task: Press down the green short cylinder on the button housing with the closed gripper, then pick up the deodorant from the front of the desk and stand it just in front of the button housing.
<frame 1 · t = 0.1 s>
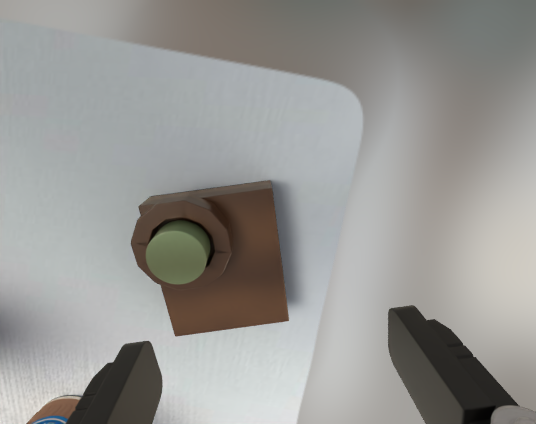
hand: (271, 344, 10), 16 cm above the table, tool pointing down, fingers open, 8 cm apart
button housing: (222, 253, 27), on the table
coffee cup: (76, 417, 32), on the table
green short cylinder: (179, 251, 21), point 5 cm above the table, slide at 0.1 cm
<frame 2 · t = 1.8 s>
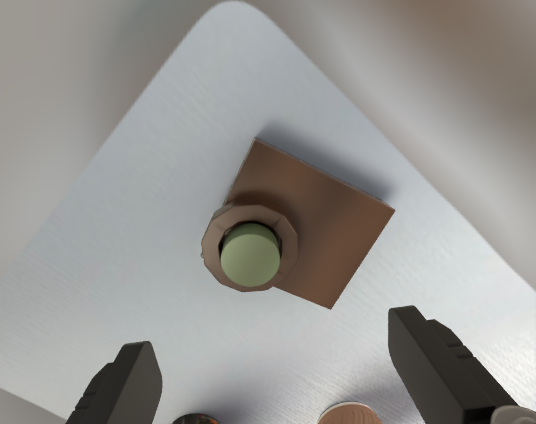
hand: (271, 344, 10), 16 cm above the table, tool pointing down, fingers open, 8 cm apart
button housing: (292, 221, 26), on the table
coffee cup: (346, 421, 34), on the table
green short cylinder: (250, 254, 21), point 5 cm above the table, slide at 0.1 cm
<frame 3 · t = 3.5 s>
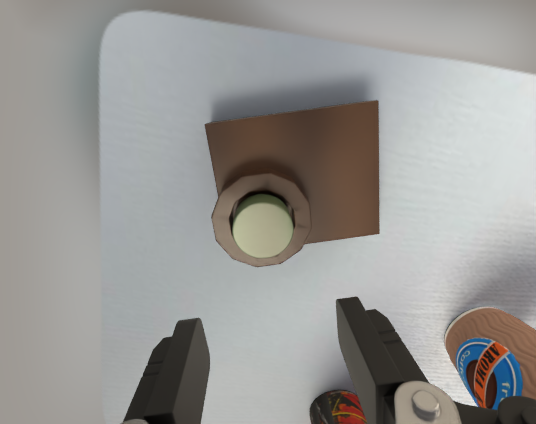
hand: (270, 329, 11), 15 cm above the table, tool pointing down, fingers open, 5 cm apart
deodorant: (335, 408, 34), on the table
button housing: (293, 175, 25), on the table
coffee cup: (475, 332, 31), on the table
green short cylinder: (262, 225, 21), point 5 cm above the table, slide at 0.1 cm
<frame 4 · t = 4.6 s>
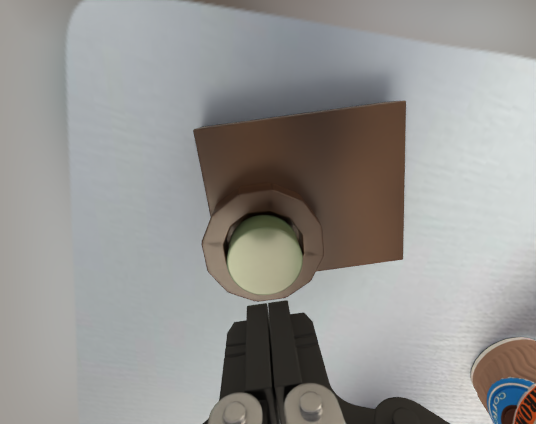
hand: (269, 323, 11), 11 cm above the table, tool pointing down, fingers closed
button housing: (300, 189, 21), on the table
coffee cup: (505, 365, 27), on the table
green short cylinder: (264, 254, 17), point 5 cm above the table, slide at 0.1 cm
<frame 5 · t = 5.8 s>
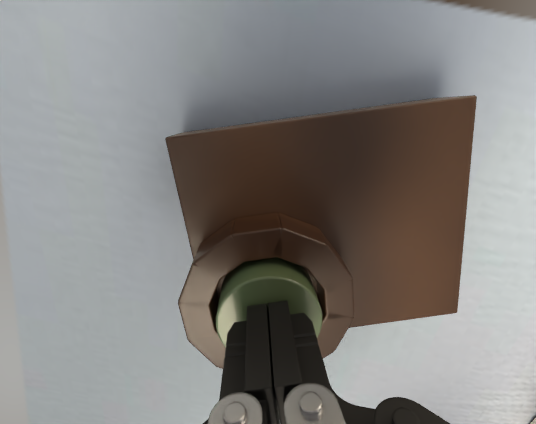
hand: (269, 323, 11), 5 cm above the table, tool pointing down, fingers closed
button housing: (316, 215, 16), on the table
green short cylinder: (268, 307, 12), point 4 cm above the table, slide at -0.7 cm, touching gripper
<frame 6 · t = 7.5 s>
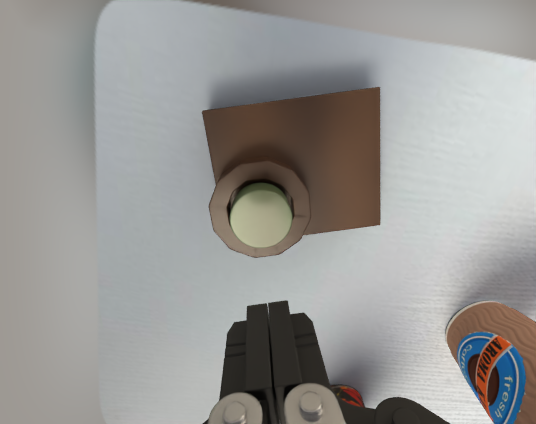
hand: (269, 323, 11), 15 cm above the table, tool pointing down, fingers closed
deodorant: (334, 403, 33), on the table
button housing: (293, 165, 24), on the table
coffee cup: (477, 327, 31), on the table
green short cylinder: (260, 214, 20), point 5 cm above the table, slide at 0.1 cm
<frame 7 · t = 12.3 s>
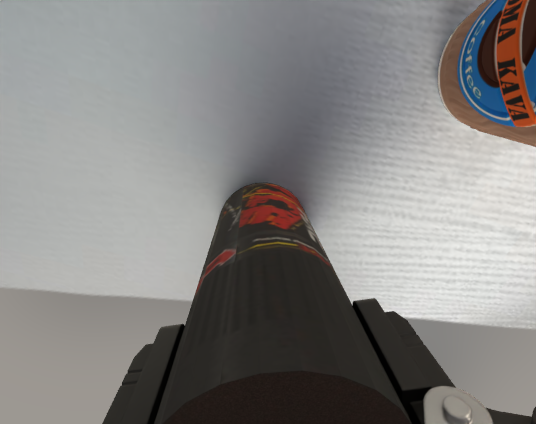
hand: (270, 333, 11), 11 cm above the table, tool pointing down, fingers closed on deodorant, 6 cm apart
deodorant: (262, 224, 21), on the table, touching gripper
coffee cup: (490, 68, 18), on the table
when the fingers open (11 cm above the table, at t = 19.6 s): deodorant stays where it is, on the table.
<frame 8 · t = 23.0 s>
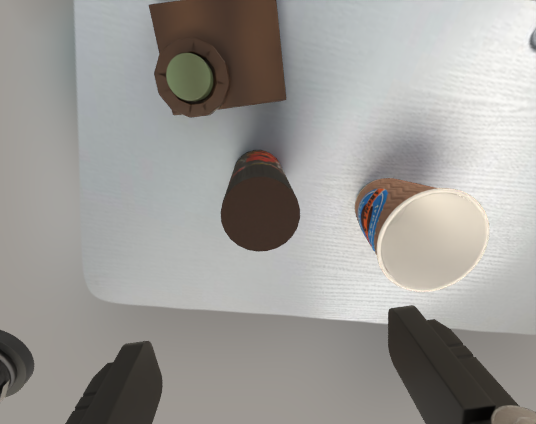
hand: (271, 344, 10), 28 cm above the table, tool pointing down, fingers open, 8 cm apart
deodorant: (257, 174, 37), on the table
button housing: (223, 59, 32), on the table
coffee cup: (380, 203, 39), on the table
green short cylinder: (190, 78, 28), point 5 cm above the table, slide at 0.1 cm
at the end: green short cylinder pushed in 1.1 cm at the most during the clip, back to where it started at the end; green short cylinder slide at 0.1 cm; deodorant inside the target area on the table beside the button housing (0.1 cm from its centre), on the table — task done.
